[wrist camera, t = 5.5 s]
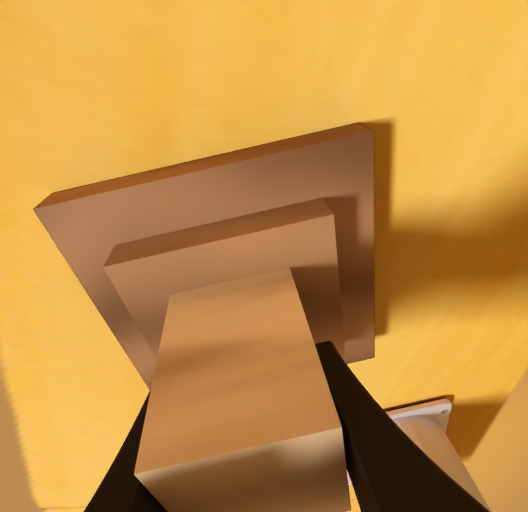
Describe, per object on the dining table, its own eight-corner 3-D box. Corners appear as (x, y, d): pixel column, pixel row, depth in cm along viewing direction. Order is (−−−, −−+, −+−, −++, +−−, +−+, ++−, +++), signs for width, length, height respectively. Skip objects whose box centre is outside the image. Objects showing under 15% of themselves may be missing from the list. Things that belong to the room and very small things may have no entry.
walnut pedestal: (364, 337, 19) (386, 381, 16) (164, 382, 19) (155, 433, 16) (357, 122, 12) (393, 140, 10) (51, 193, 12) (8, 229, 10)
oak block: (304, 348, 14) (351, 510, 9) (205, 371, 14) (198, 544, 9) (289, 267, 12) (342, 427, 7) (170, 294, 12) (133, 474, 7)
